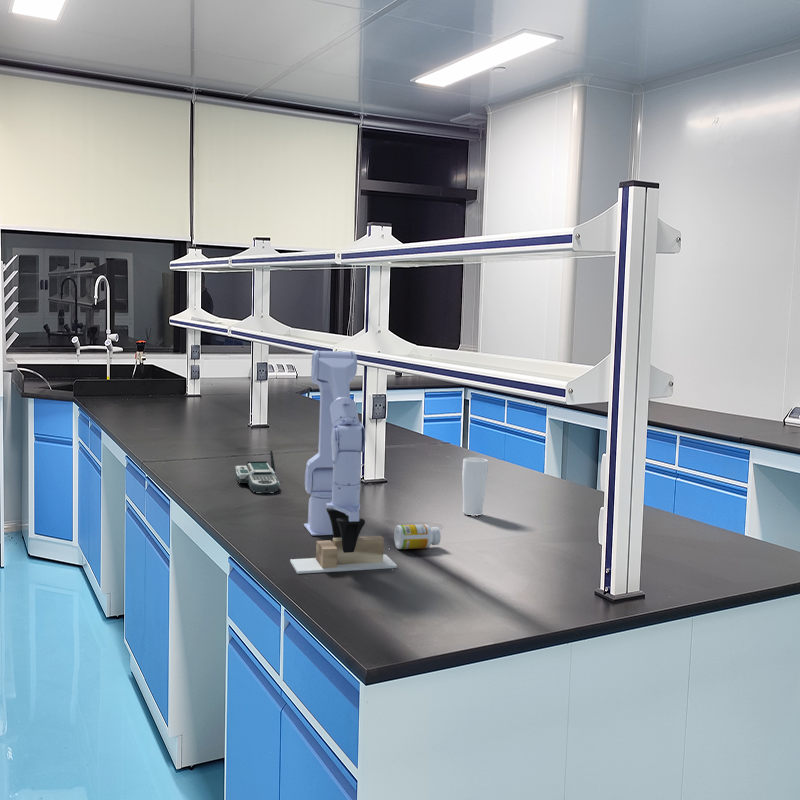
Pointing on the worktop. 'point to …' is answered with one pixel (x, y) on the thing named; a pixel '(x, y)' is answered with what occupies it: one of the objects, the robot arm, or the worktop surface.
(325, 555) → the tan boxy piece
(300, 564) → the grey mat
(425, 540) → the supplement bottle
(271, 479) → the communication device
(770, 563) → the worktop surface
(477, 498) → the drinking glass
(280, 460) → the worktop surface
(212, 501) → the worktop surface
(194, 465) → the worktop surface
